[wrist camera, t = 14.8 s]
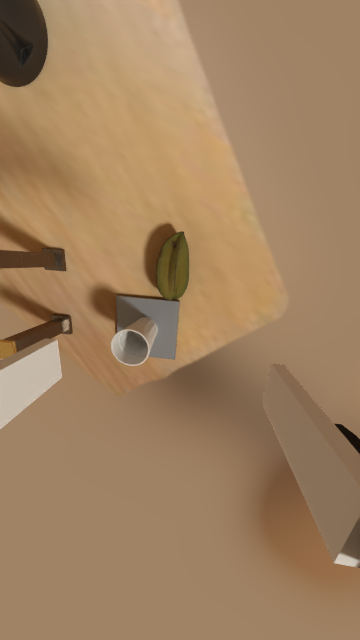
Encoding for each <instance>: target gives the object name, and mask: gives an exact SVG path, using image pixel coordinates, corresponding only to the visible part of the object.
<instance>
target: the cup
mask: <svg viewBox="0 0 360 640" xmlns="http://www.w3.org/2000/svg"><path fill="white" fill-rule="evenodd" d="M157 333H158V327H157V324H156V323H155V321H154V320H152V319H151V318H148V317H143V318H140V319H138V320H137V321H136V322H135V323H133V324H131V325H130V326H128V327H126V328H124V329H123V330H121V331H119V332H118V333H116V334H115V335H114V337H113V339H112V341H111V350H112V353H113V355H114V356H115V358H116V359H117V360H118V361H120V362H121V363H123V364H125V365H129V366H136V365H140V364H142V363H143V362H144V361H145V360H146V359H147V358H148V356H149V353H150V350H151V347H152V345H153V342H154V339H155V337H156V335H157Z"/></svg>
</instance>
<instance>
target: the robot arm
mask: <svg viewBox="0 0 360 640" xmlns="http://www.w3.org/2000/svg"><path fill="white" fill-rule="evenodd" d="M47 47H48V37H47V28H46V23H45V19H44V16H43V13H42V10H41V8H40V5H39V3H38V1H37V0H0V81H1V82H2V83H4V84H7V85H9V86H14V87H20V86H25V85H27V84H29V83H31V82H32V81H33V80H34V79H35V78H36V77H37V76H38V75H39V73H40V72H41V70H42V68H43V65H44V63H45V59H46V55H47ZM61 378H62V373H61V366H60V357H59V349H58V342H57V339H48V338H45V339H43V340H41V341H39V342H37V343H35V344H33V345H31V346H29V347H27V348H25V349H23V350H21V351H19V352H17V353H15V354H13V355H11V356H9V357H7V358H5V359H3V360H1V361H0V429H1V428H2V427H3V426H5V425H6V424H7V423H8V422H9V421H10V420H12V419H13V418H14V417H15V416H16V415H18V414H19V413H20V412H21V411H23V410H24V409H25V408H26V407H27V406H28V405H30V404H31V403H32V402H33V401H34V400H36V399H37V398H38V397H39V396H40V395H41V394H43V393H44V392H45V391H46V390H48V389H49V388H50V387H51V386H52V385H53V384H55V383H56V382H57V381H58V380H59V379H61ZM261 403H262V405H263V407H264V409H265V411H266V414H267V416H268V418H269V420H270V422H271V425H272V427H273V429H274V432H275V434H276V436H277V438H278V440H279V442H280V445H281V447H282V449H283V451H284V454H285V456H286V458H287V460H288V462H289V465H290V467H291V469H292V471H293V474H294V476H295V478H296V480H297V482H298V485H299V487H300V489H301V491H302V494H303V496H304V498H305V500H306V503H307V505H308V507H309V509H310V511H311V514H312V516H313V518H314V520H315V522H316V525H317V527H318V529H319V531H320V534H321V536H322V538H323V540H324V542H325V545H326V547H327V549H328V551H329V554H330V556H331V558H332V560H333V562H334V563H336V564H342V565H347V566H353V567H359V568H360V439H359V438H358V437H357V436H356V435H355V434H353V433H352V432H351V431H349V430H348V429H347V428H345V427H344V426H343V425H341V424H334V423H333V422H332V421H331V420H330V418H329V417H328V416H327V415H326V414H325V412H324V411H323V410H322V409H321V408H320V407H319V406H318V404H317V403H316V402H315V401H314V399H312V397H311V396H310V395H309V394H308V392H307V391H306V390H305V389H304V388H303V386H302V385H301V384H300V383H299V382H298V381H297V379H296V378H295V377H294V376H293V374H292V373H291V372H290V371H289V370H288V369H287V367H286V366H285V365H280V364H271V365H270V370H269V374H268V378H267V382H266V386H265V390H264V394H263V398H262V402H261Z"/></svg>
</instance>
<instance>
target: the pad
mask: <svg viewBox="0 0 360 640" xmlns="http://www.w3.org/2000/svg"><path fill="white" fill-rule="evenodd" d="M179 304H180V301H175V300H174V301H173V300H165V299H154V298H143V297H132V296H122V295H117V296H116V305H117V333H118V332H119V331H121V330H123V329H124V328H126V327H128V326H130V325H131V324H133V323H135V322H136V321H137V320H138V319H140V318H143V317H148V318H151V319H152V320H154V321H155V323H156V324H157V327H158V333H157V335H156V337H155V339H154V342H153V345H152V347H151V350H150V353H149V356H148V357H156V358H165V359H174V360H175V357H176V343H177V330H178V317H179Z"/></svg>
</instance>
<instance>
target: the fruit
mask: <svg viewBox="0 0 360 640" xmlns="http://www.w3.org/2000/svg"><path fill="white" fill-rule="evenodd" d="M188 279H189V251H188V245H187V242H186V239H185V236H184V232H183V231H182V232H179V233H176V234H174V235H172V236H171V237H170V238H169V239H168V240H167V241H166V242H165V243H164V245H163V246H162V249H161V252H160V255H159V258H158V261H157V273H156V282H157V287H158V290H159V292H160V294H161V295H162V296H163V297H164V298H165V299H168V300H172V299H173V301H174V299H178V298H180V297H181V296H182V295H183V294H184V292H185V290H186V288H187V285H188Z"/></svg>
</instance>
